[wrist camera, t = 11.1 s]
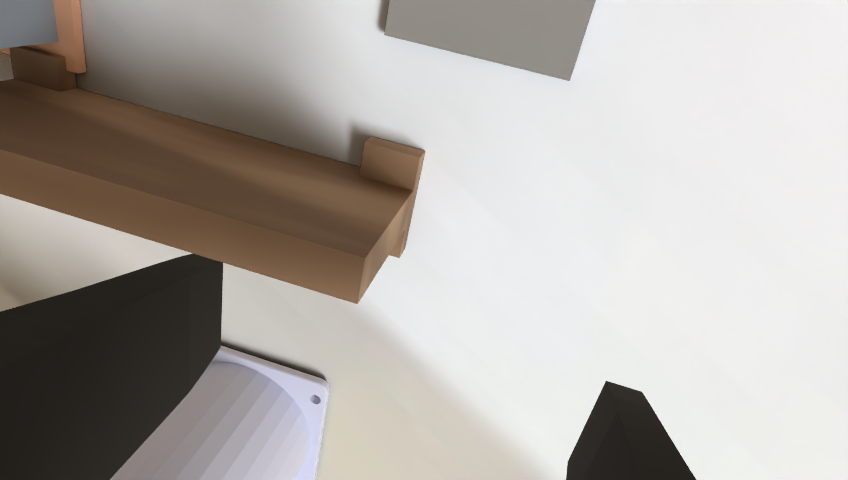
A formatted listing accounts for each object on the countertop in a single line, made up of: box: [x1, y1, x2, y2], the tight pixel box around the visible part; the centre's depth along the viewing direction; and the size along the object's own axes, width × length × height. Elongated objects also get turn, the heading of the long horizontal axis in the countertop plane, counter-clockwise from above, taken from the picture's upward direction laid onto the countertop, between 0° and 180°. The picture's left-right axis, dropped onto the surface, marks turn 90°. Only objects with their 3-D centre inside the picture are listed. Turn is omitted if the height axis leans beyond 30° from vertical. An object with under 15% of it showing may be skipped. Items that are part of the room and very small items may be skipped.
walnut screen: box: [0, 46, 425, 304], centre depth 18 cm, size 4×16×6 cm, turn 78°
